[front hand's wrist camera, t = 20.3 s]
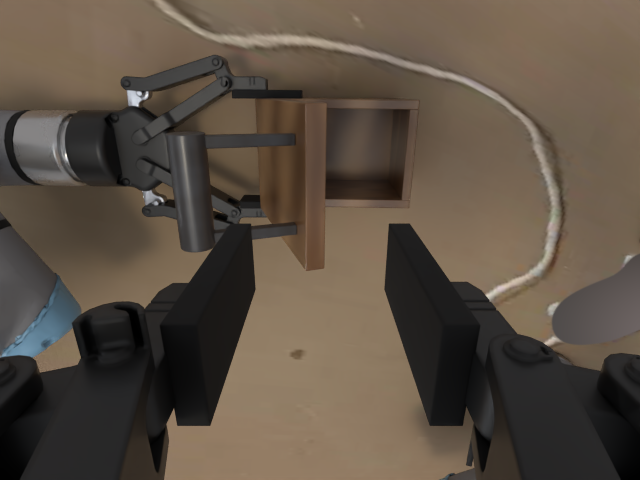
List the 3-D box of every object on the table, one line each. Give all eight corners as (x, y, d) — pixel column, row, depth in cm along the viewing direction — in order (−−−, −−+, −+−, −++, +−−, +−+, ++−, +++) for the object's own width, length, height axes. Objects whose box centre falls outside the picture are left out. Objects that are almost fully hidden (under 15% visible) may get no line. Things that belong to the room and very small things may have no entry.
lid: (327, 102, 21) (159, 102, 18) (324, 268, 24) (184, 289, 22) (269, 98, 34) (166, 97, 31) (273, 207, 37) (181, 215, 35)
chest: (400, 98, 43) (419, 100, 34) (393, 185, 47) (409, 208, 38) (277, 97, 44) (263, 98, 34) (280, 183, 47) (268, 206, 38)
